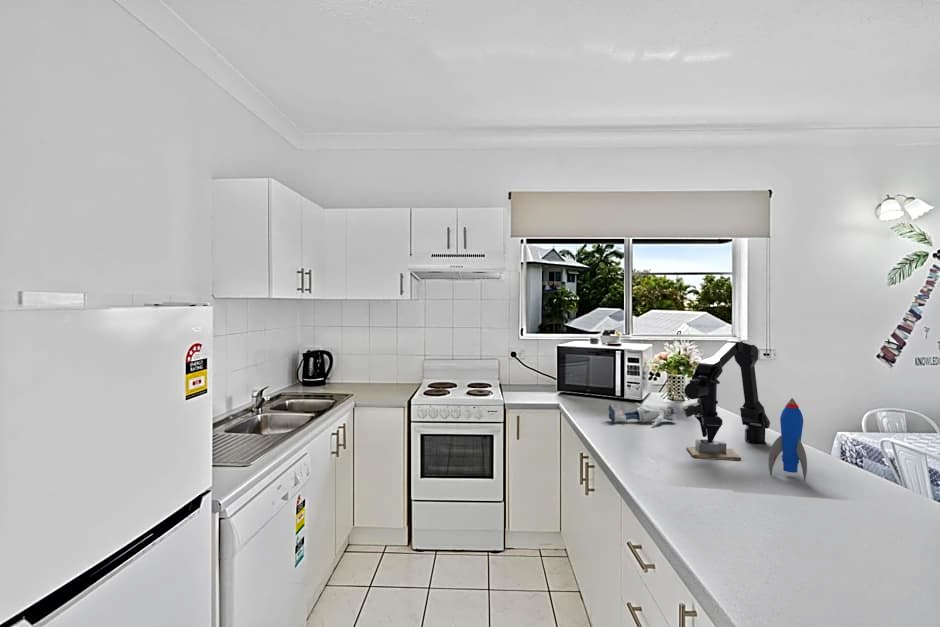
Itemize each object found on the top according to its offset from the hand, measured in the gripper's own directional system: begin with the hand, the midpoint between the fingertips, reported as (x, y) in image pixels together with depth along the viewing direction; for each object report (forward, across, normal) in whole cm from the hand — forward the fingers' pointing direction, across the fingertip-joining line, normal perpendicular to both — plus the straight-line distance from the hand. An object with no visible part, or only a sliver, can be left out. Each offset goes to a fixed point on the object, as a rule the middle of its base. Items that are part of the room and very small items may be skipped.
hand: (707, 439), depth 211 cm
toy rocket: (+6, +22, +19) cm, 30 cm away
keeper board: (+5, 0, +2) cm, 6 cm away
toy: (+6, -52, -17) cm, 55 cm away
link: (+4, 0, +1) cm, 4 cm away
